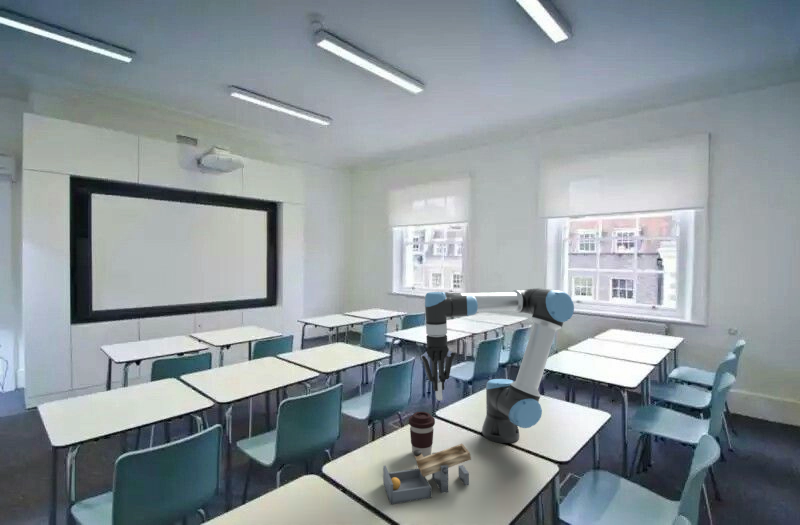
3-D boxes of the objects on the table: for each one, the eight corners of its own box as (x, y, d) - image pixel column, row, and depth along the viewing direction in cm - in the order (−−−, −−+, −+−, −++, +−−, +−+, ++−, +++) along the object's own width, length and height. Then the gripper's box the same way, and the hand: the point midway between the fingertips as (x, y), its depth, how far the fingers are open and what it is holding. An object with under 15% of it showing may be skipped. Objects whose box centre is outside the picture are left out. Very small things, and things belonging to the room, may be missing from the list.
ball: (400, 477, 122) (391, 473, 122) (403, 483, 119) (394, 479, 118) (395, 487, 122) (386, 483, 121) (398, 494, 119) (388, 489, 118)
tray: (421, 478, 127) (421, 460, 127) (431, 497, 117) (431, 478, 117) (383, 483, 124) (383, 465, 124) (390, 504, 114) (390, 484, 114)
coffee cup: (433, 462, 137) (433, 421, 137) (406, 459, 139) (406, 419, 139) (436, 449, 147) (436, 410, 147) (411, 446, 149) (411, 408, 149)
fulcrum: (438, 475, 129) (438, 451, 129) (449, 493, 119) (448, 466, 119) (431, 476, 128) (431, 452, 128) (441, 494, 119) (441, 467, 119)
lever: (455, 440, 136) (453, 433, 136) (471, 459, 123) (469, 452, 123) (411, 455, 132) (410, 448, 132) (423, 477, 119) (421, 469, 119)
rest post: (462, 476, 128) (462, 465, 128) (469, 484, 124) (469, 473, 124) (458, 477, 128) (458, 465, 128) (464, 485, 123) (464, 473, 123)
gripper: (449, 331, 142) (451, 393, 143) (416, 334, 139) (419, 397, 139) (457, 335, 135) (459, 400, 135) (423, 338, 132) (425, 405, 132)
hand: (439, 399), depth 137 cm, fingers closed
